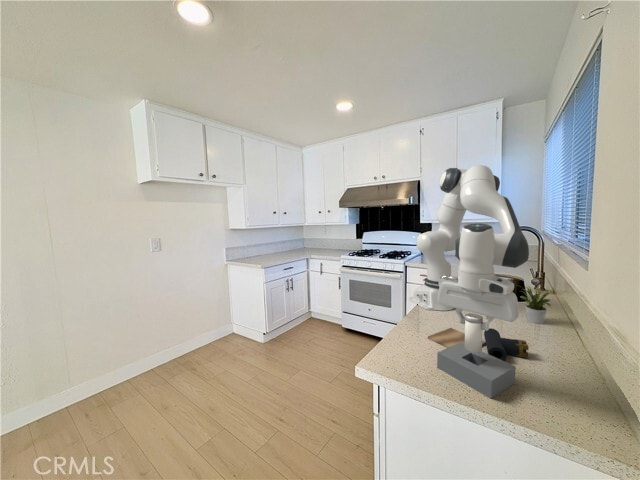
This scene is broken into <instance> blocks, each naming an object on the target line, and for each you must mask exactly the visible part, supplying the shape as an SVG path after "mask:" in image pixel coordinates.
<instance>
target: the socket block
mask: <svg viewBox="0 0 640 480" xmlns="http://www.w3.org/2000/svg"><path fill="white" fill-rule="evenodd" d="M436 355H437V356H436V357H437V358H436V359H437V360H436V361H437V362H436V365H437V366H436V368H437V369H439V370H441V371H442V372H444V373H447V374H448V375H449V376H451V377H453V378H455V379H456V380H458V381H460V382H461V383H463V384H464V385H467V386H468V387H470V388H472V389H473V390H475V391H477V392H479V393H480V394H481V395H484V396H485V397H487V398H489V399H493V398H495V397H496V396H498V395H499V394H500V393H502V392H503V391H505V390H507V389H508V388H510V387H511V386H513V385H514V384H515V383H516V369H517V367H516V365H515V364H514V365H513V364H511V363H509V362H507V361H506V360H505V361H502V360H500V359H498V358H496V357H493V356H491V355H489V354H488V352H484V351H482V352H480V353H474V352H470V351H468V350H466V349H465V344H464V343H462V342H460V343H458V344H456V345H453V346H451V347H449V348H446V347H445V349H442V350H440V351H437V353H436Z"/></svg>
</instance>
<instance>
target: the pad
mask: <svg viewBox="0 0 640 480" xmlns="http://www.w3.org/2000/svg"><path fill="white" fill-rule="evenodd" d="M427 339H428V340H431V341H432V342H434V343H436V344H439V345H441V346H442V347H444V348H445V349H446V348H449V347H451V346H453V345H456V344H458V343H460V342H462V343H464V344H465V332H463V331H459V330H457V329H456V328H455V329H454V328H452V327H449V328H447V329H446V328H445V329H444V330H441V331H439V332H435V333H433V334H430V335H428V336H427ZM483 346H486V342H485V340H482V347H483Z"/></svg>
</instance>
